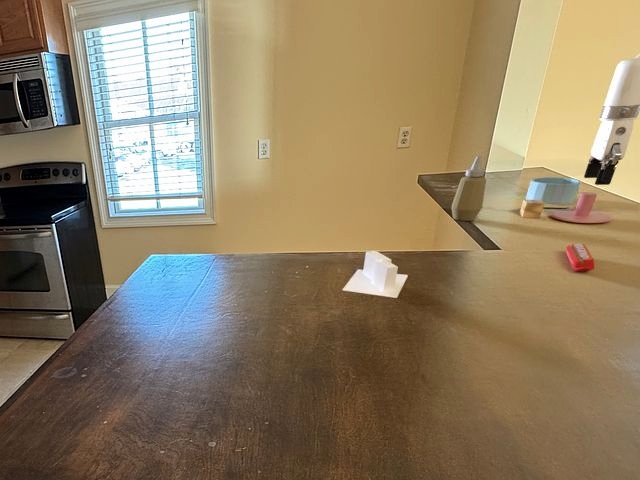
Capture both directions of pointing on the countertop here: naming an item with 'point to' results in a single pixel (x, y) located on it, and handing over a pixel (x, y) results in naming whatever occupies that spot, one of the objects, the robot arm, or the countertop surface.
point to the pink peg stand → (582, 211)
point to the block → (531, 208)
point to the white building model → (377, 277)
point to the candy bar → (579, 257)
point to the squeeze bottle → (470, 193)
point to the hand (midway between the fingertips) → (596, 181)
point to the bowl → (553, 190)
